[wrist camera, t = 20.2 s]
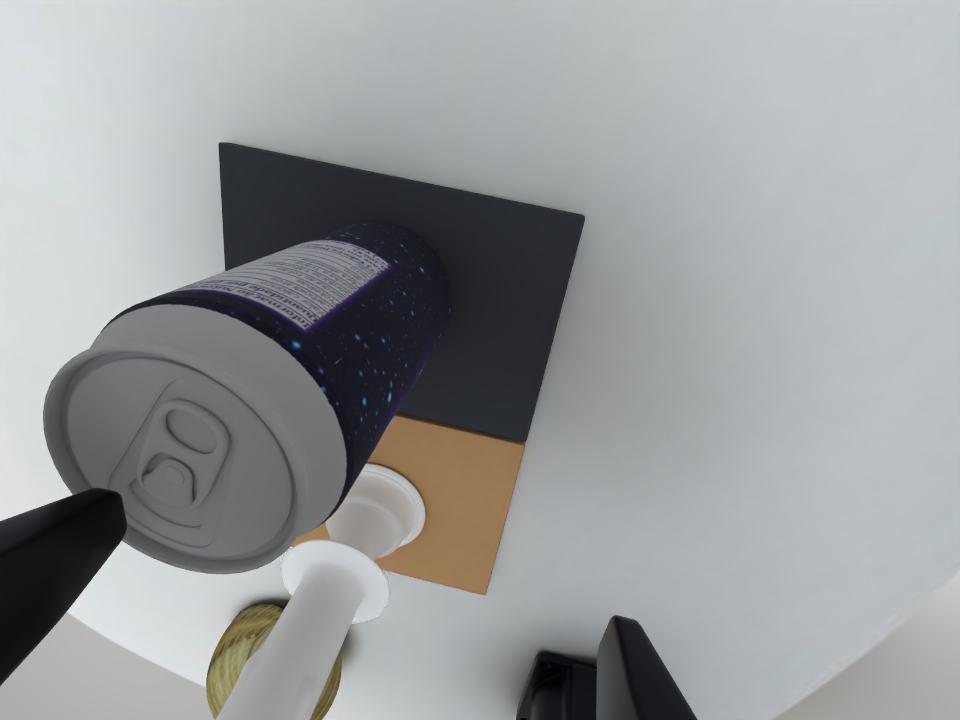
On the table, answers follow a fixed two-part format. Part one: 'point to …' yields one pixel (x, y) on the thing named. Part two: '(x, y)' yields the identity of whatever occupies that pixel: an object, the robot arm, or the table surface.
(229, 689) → the seashell
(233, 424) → the beverage can
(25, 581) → the robot arm
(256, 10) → the table surface
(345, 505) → the candle
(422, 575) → the sorting mat
